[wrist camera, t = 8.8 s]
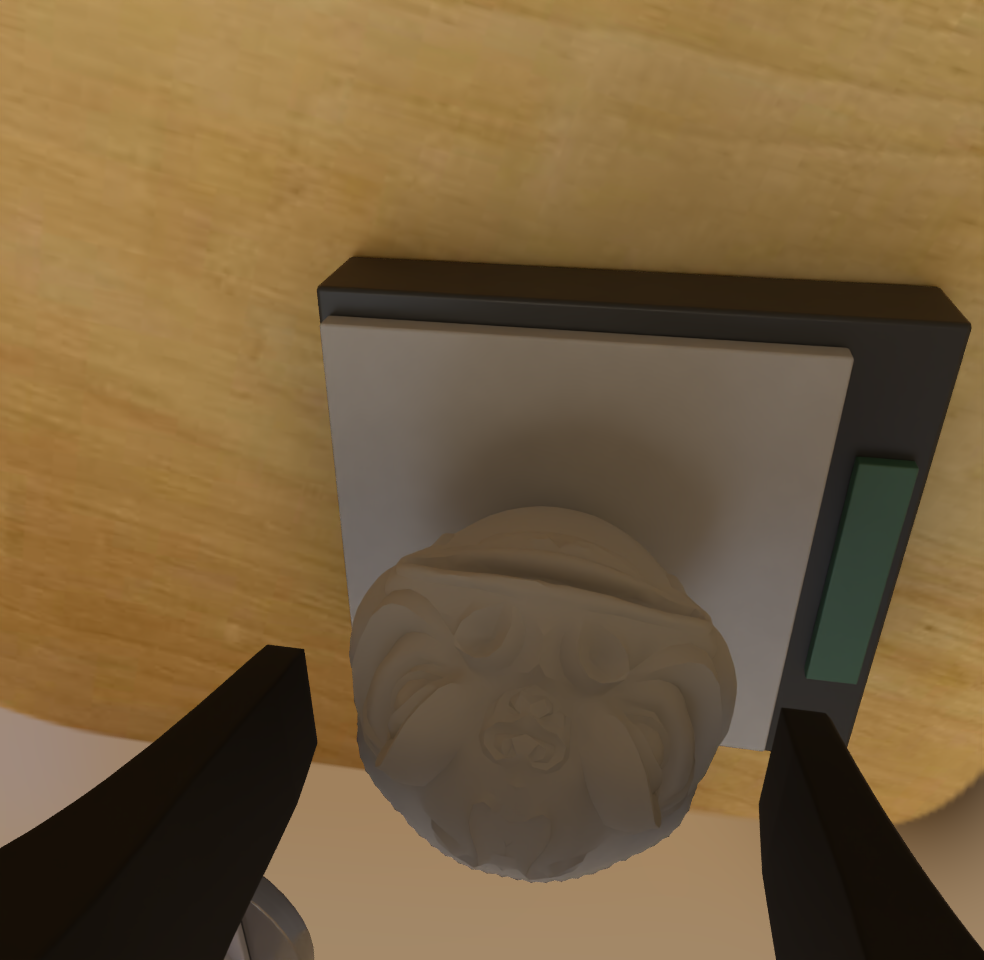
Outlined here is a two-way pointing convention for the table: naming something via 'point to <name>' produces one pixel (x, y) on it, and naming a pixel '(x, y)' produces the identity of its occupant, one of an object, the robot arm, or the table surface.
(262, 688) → the robot arm
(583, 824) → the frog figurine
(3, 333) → the table surface
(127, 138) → the table surface
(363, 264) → the scale
